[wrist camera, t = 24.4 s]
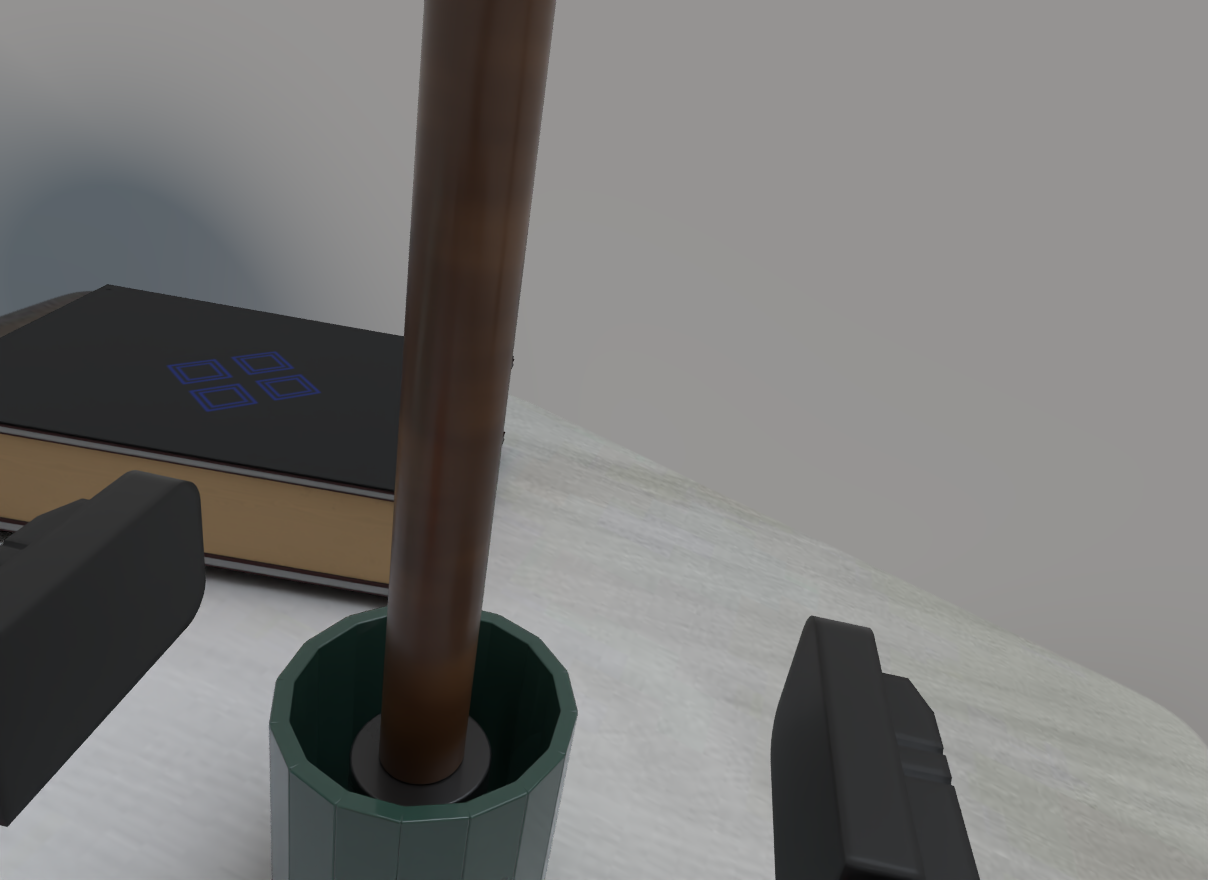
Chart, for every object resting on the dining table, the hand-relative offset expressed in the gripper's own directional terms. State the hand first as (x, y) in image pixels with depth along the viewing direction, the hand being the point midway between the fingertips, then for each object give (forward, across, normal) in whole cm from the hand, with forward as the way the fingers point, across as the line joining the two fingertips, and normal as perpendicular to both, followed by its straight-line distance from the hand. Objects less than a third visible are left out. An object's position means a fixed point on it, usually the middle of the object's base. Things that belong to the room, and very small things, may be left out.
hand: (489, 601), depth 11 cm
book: (+30, +20, +20) cm, 41 cm away
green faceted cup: (+9, +3, +20) cm, 22 cm away
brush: (+9, +3, +19) cm, 21 cm away
